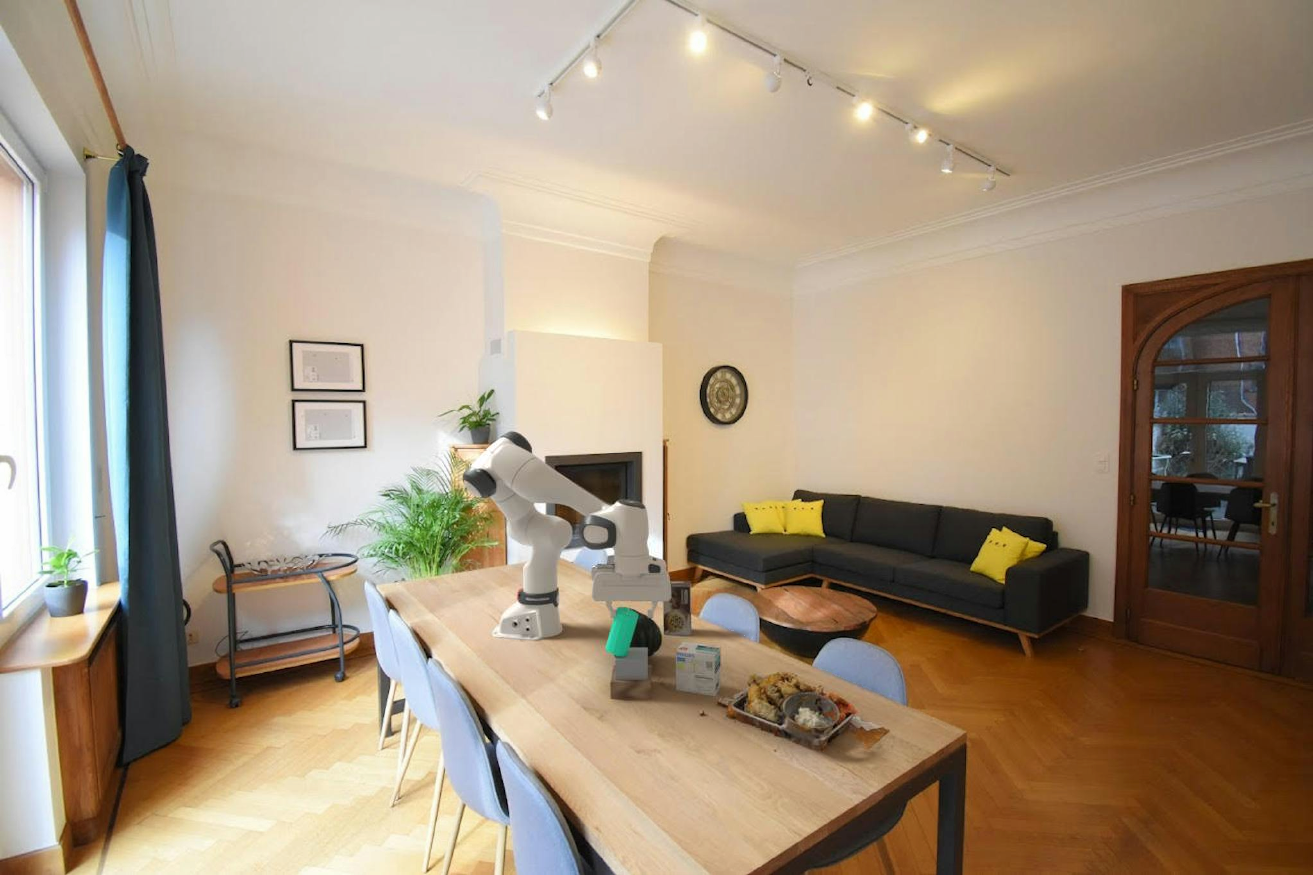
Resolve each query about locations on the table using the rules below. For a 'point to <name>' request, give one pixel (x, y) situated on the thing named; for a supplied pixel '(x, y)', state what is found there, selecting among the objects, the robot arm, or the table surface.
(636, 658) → the tower top block
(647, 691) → the tower base block
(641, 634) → the squash
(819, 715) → the food tray
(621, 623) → the candle
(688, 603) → the coffee box
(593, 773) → the table surface
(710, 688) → the light bulb box
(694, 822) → the table surface
